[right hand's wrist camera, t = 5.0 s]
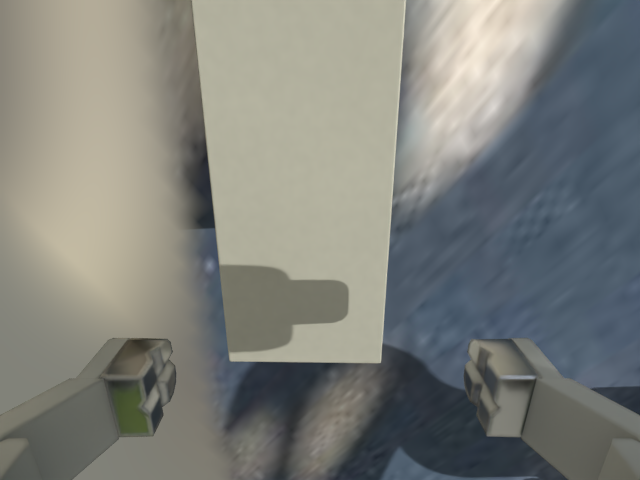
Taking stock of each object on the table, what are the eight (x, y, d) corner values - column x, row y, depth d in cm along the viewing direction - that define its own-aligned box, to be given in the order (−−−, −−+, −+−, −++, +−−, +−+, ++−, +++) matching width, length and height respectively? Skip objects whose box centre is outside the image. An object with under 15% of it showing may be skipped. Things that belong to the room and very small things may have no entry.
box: (361, 258, 24) (381, 363, 15) (266, 258, 24) (229, 361, 15) (380, -197, 16) (444, -553, 7) (241, -194, 16) (132, -542, 7)
